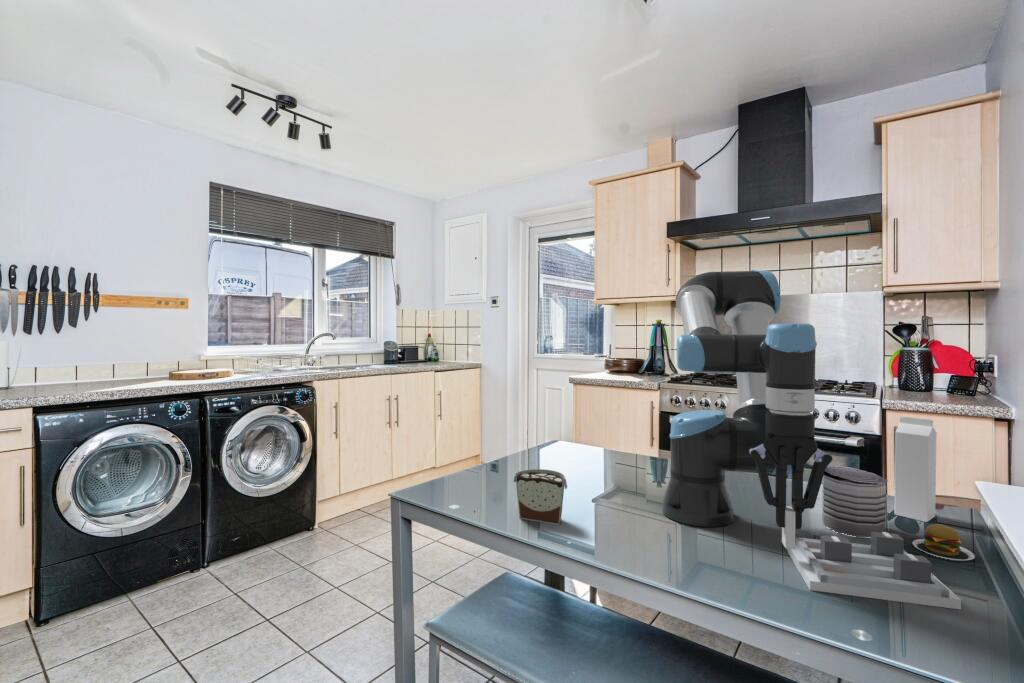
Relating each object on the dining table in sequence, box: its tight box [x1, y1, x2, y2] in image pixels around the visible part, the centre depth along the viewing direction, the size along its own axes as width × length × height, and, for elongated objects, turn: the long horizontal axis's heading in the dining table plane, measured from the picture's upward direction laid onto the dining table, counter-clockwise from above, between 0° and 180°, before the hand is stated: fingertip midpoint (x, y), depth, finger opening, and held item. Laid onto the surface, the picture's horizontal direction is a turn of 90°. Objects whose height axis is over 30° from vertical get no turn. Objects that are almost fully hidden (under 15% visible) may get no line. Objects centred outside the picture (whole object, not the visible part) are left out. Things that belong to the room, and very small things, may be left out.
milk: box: [893, 416, 938, 523], centre depth 112 cm, size 6×6×22 cm
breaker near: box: [893, 553, 932, 584], centre depth 79 cm, size 4×2×4 cm, turn 74°
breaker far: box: [870, 532, 905, 557], centre depth 87 cm, size 4×2×4 cm, turn 74°
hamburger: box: [911, 523, 976, 562], centre depth 94 cm, size 12×12×6 cm
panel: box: [786, 536, 962, 610], centre depth 84 cm, size 20×15×3 cm
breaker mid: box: [819, 535, 852, 563], centre depth 86 cm, size 4×2×4 cm, turn 74°
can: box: [821, 464, 889, 537], centre depth 105 cm, size 11×11×12 cm
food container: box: [513, 468, 568, 526], centre depth 112 cm, size 12×6×10 cm, turn 65°
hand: (788, 545), depth 88 cm, fingers closed
